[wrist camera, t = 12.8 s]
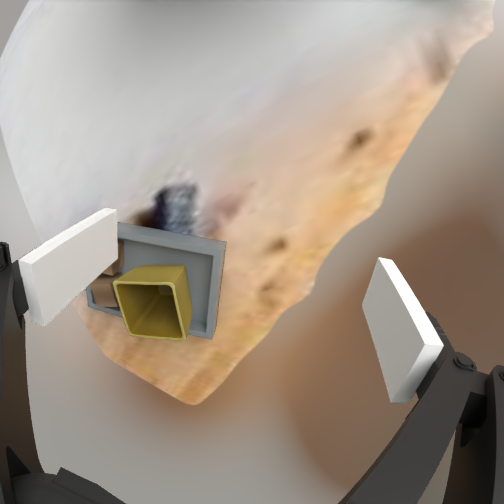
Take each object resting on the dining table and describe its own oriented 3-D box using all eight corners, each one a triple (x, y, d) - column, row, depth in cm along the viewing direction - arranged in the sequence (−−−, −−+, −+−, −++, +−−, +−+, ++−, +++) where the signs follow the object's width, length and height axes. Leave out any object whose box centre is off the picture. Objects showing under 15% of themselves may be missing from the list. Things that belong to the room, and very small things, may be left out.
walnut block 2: (102, 272, 48) (89, 284, 44) (121, 272, 47) (109, 283, 44) (108, 294, 49) (97, 306, 46) (128, 294, 49) (117, 306, 45)
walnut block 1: (102, 236, 45) (88, 245, 42) (123, 240, 45) (111, 250, 41) (103, 259, 47) (90, 270, 43) (124, 264, 47) (112, 275, 43)
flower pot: (151, 303, 49) (128, 336, 41) (139, 253, 46) (111, 281, 37) (203, 305, 48) (186, 341, 39) (194, 252, 44) (173, 282, 36)
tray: (91, 217, 45) (80, 223, 42) (226, 241, 44) (221, 250, 41) (96, 298, 51) (88, 307, 48) (215, 328, 50) (211, 339, 47)
